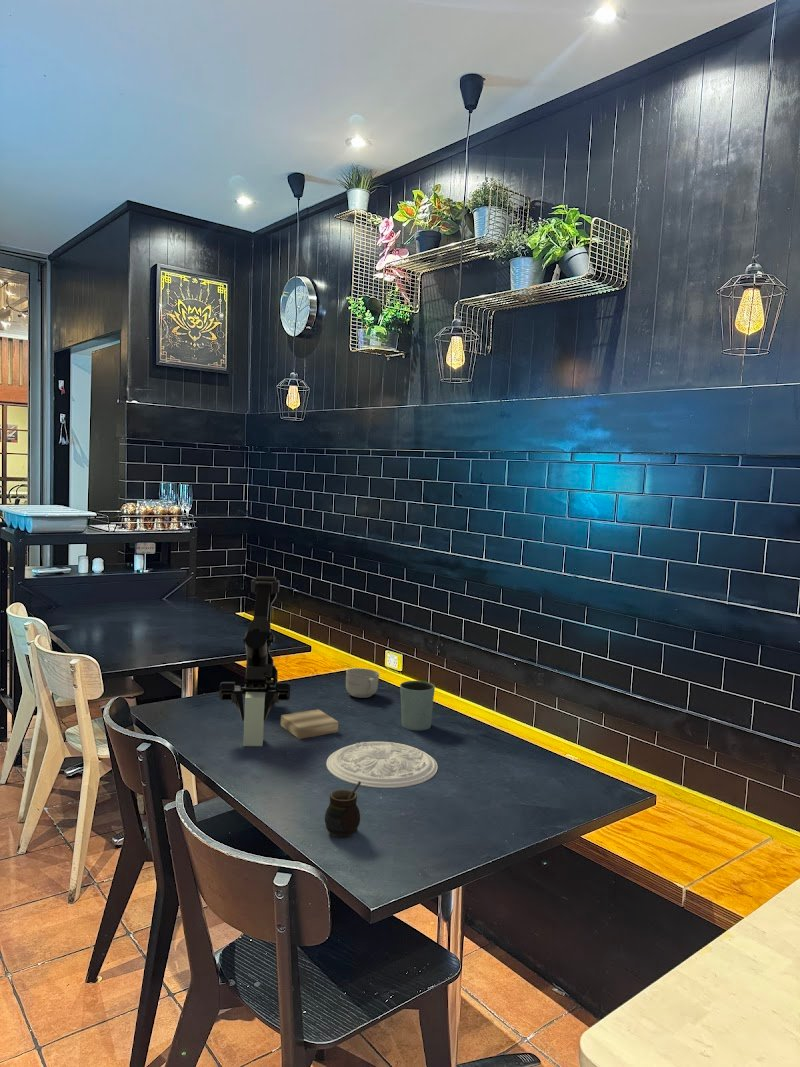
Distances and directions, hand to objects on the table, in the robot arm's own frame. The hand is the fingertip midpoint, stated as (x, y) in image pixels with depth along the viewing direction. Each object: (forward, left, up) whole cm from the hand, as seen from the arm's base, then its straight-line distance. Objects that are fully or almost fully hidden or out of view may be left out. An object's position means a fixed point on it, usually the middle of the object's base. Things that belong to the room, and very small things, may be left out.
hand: (253, 720), depth 200 cm
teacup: (-23, +48, -7) cm, 53 cm away
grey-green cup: (+7, +48, -7) cm, 49 cm away
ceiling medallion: (+27, +24, -7) cm, 36 cm away
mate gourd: (+53, -2, -7) cm, 53 cm away
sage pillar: (-1, +1, -7) cm, 7 cm away
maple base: (-4, +19, -7) cm, 20 cm away
